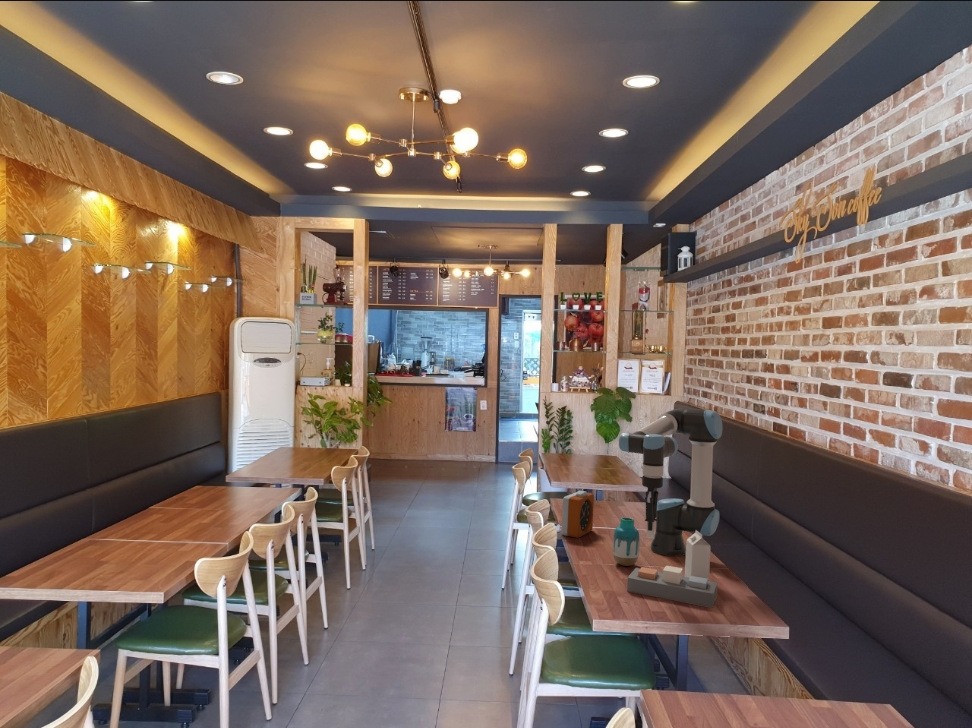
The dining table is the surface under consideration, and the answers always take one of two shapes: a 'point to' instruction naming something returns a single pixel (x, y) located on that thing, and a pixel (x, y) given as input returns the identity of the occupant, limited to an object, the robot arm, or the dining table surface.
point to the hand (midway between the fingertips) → (650, 538)
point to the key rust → (648, 573)
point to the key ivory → (672, 574)
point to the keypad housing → (672, 589)
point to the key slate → (698, 582)
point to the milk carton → (697, 556)
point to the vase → (626, 542)
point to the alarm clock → (577, 514)
